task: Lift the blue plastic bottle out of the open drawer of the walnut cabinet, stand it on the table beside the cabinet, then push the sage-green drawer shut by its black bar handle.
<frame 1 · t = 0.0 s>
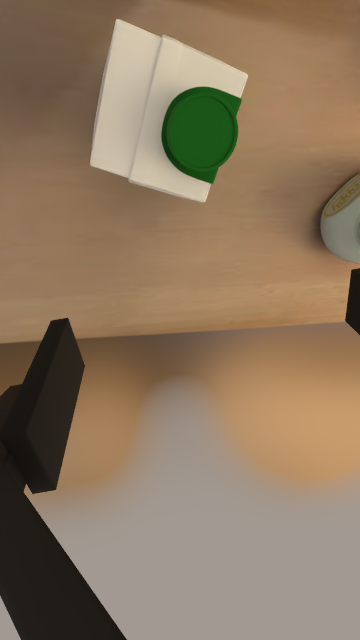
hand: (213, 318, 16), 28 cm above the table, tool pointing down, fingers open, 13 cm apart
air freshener: (353, 211, 43), on the table
milk carton: (154, 122, 36), on the table
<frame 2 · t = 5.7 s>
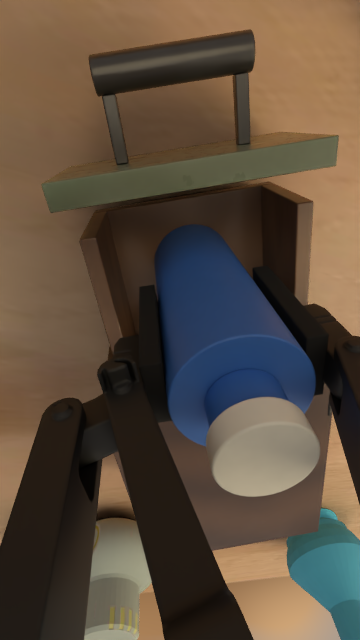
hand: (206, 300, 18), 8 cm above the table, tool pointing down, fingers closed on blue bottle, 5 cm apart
drawer: (195, 258, 20), point 4 cm above the table, slide at 11.0 cm, touching blue bottle
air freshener: (114, 529, 41), on the table
perfume bottle: (310, 522, 44), on the table
cabinet: (207, 396, 31), on the table
blue bottle: (192, 262, 23), point 2 cm above the table, touching drawer, gripper
when the fingers open (6 cm above the table, at t = 13.5 s): blue bottle stays where it is, on the table.
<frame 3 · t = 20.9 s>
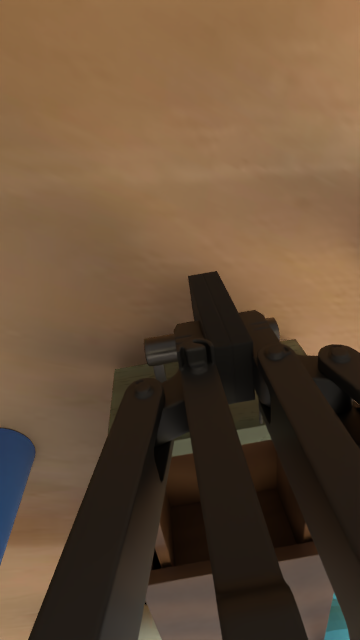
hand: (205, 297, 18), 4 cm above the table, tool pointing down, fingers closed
drawer: (221, 449, 23), point 4 cm above the table, slide at 11.0 cm, touching gripper
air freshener: (132, 610, 44), on the table
perfume bottle: (313, 598, 47), on the table
cabinet: (223, 511, 35), on the table
blue bottle: (2, 450, 27), on the table
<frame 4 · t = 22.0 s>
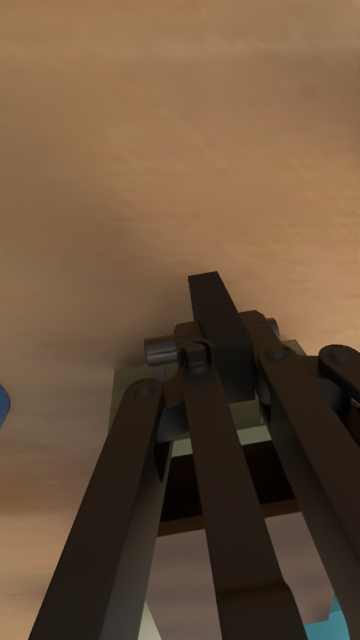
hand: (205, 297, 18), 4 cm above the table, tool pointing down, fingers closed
drawer: (221, 449, 23), point 4 cm above the table, slide at 5.5 cm, touching gripper
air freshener: (123, 591, 41), on the table
perfume bottle: (316, 579, 45), on the table
cabinet: (219, 478, 32), on the table
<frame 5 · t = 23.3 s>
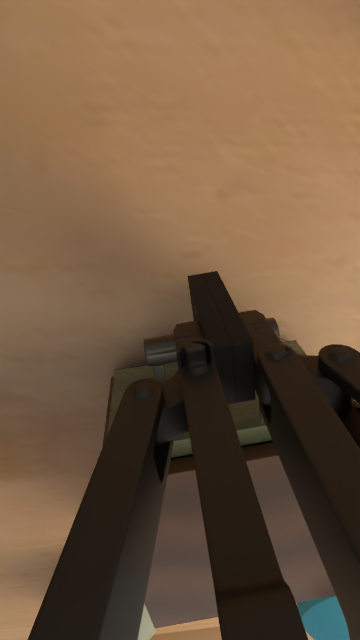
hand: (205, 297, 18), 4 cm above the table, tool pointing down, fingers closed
drawer: (221, 451, 23), point 4 cm above the table, slide at 0.0 cm, touching cabinet, gripper
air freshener: (112, 574, 38), on the table
perfume bottle: (321, 563, 41), on the table
cabinet: (214, 440, 29), on the table
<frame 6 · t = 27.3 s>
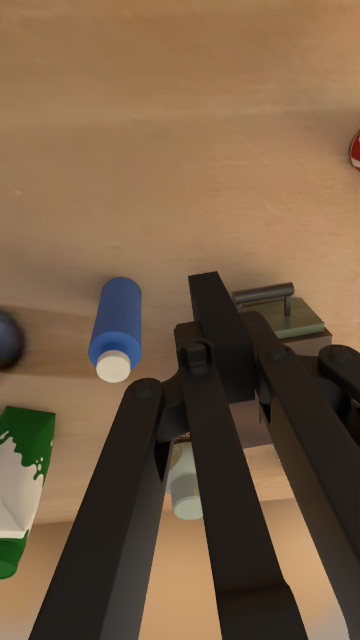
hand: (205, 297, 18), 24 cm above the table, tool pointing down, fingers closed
drawer: (262, 354, 45), point 4 cm above the table, slide at 0.0 cm
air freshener: (184, 453, 61), on the table
cabinet: (254, 358, 51), on the table
milk carton: (29, 424, 54), on the table
blue bottle: (121, 295, 44), on the table
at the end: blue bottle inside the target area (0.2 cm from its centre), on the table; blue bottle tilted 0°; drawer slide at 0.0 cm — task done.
